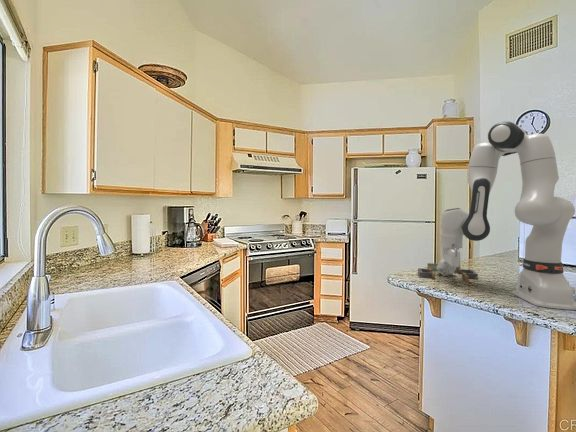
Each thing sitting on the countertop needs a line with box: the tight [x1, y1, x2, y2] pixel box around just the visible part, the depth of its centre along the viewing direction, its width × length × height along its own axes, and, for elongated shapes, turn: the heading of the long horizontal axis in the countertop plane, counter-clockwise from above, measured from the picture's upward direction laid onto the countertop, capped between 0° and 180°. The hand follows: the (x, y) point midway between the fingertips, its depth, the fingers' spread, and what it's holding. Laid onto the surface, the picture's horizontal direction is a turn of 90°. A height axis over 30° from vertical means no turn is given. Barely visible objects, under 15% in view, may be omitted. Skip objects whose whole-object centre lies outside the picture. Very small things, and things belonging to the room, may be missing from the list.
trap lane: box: [417, 262, 479, 283], centre depth 156 cm, size 19×26×4 cm
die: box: [436, 259, 456, 277], centre depth 157 cm, size 8×9×10 cm
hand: (450, 273), depth 146 cm, fingers closed
